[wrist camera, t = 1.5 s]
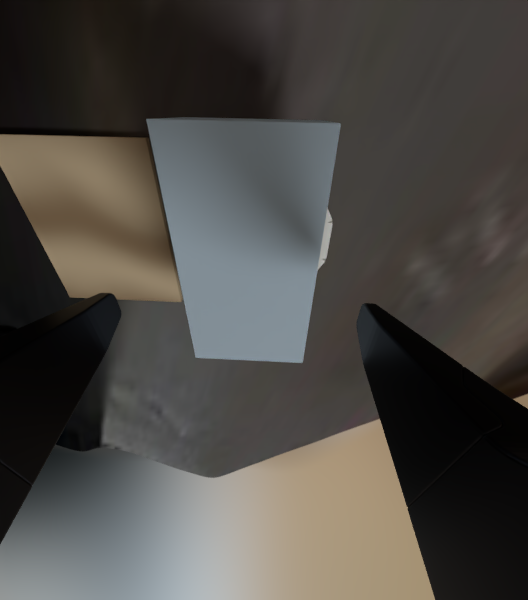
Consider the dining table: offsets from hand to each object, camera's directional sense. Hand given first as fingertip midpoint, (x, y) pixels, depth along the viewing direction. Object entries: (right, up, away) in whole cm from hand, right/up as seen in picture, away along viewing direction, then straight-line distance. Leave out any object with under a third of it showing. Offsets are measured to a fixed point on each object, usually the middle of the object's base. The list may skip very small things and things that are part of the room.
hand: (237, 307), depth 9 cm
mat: (-10, +5, +8) cm, 14 cm away
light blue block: (0, +4, +5) cm, 6 cm away
